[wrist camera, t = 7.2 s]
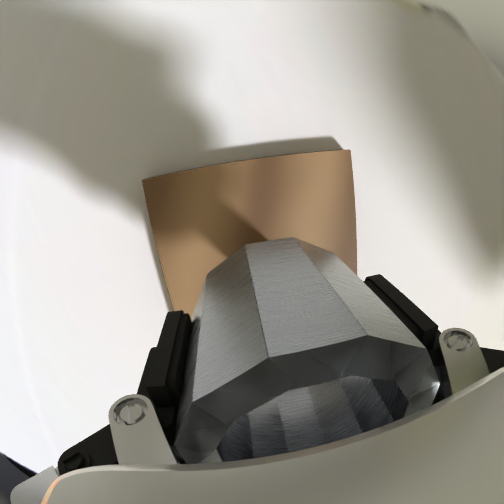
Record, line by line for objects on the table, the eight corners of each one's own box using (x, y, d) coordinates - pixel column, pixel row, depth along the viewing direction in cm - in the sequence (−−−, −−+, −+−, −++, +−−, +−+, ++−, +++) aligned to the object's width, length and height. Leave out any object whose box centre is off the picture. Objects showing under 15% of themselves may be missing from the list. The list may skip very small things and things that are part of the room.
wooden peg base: (343, 149, 16) (395, 150, 11) (350, 318, 20) (385, 368, 15) (146, 178, 16) (107, 191, 10) (189, 346, 20) (180, 407, 14)
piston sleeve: (353, 227, 10) (463, 302, 5) (350, 359, 12) (404, 458, 7) (178, 255, 10) (132, 372, 4) (215, 385, 12) (216, 502, 6)
